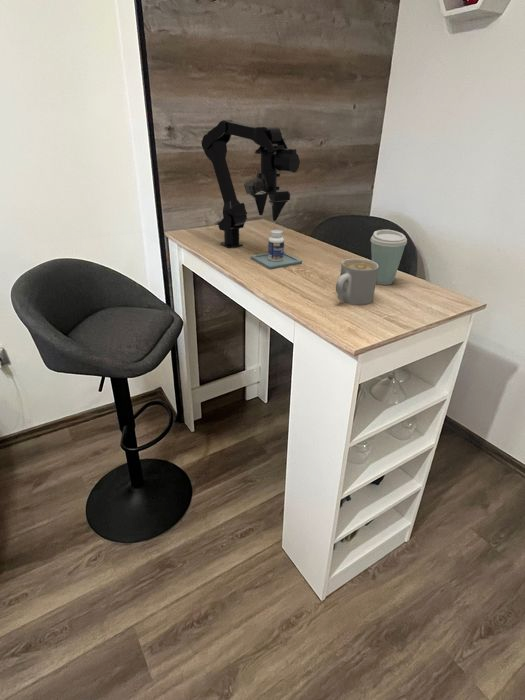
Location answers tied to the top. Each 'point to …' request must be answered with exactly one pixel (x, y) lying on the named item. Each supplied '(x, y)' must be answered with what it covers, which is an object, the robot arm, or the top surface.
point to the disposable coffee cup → (387, 253)
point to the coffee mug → (357, 281)
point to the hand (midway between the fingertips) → (267, 217)
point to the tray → (269, 264)
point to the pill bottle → (276, 246)
